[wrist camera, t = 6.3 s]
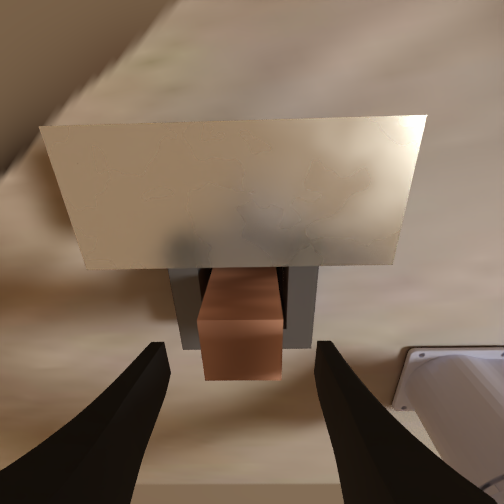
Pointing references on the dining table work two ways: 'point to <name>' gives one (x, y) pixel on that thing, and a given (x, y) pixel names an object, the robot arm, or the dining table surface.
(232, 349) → the peg
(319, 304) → the dining table surface
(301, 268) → the socket
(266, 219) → the beige block
